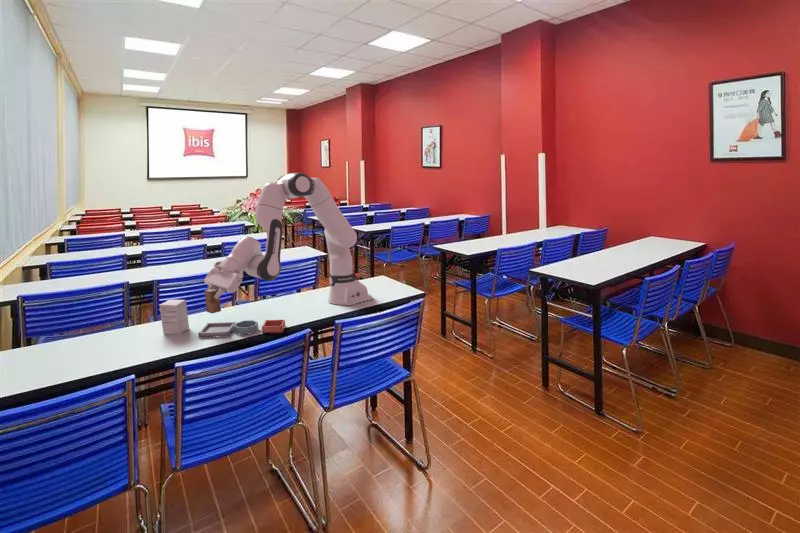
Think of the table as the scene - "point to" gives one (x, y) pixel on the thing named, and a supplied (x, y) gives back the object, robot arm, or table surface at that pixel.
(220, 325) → the slate tray
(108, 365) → the table surface
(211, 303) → the walnut block
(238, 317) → the table surface
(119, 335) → the table surface
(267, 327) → the bin
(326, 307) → the table surface
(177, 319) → the supplement box
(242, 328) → the grey octagonal bowl
